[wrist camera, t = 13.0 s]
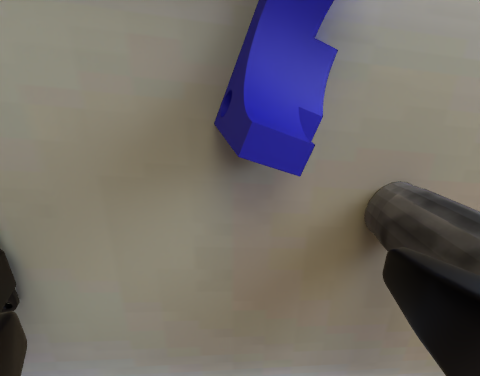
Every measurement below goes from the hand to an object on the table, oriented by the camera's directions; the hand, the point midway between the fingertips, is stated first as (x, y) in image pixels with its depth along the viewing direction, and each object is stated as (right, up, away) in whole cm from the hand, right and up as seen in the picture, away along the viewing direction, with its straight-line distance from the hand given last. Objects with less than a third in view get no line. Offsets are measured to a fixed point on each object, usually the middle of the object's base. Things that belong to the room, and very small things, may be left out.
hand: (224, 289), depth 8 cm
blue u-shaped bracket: (+3, +11, +10) cm, 15 cm away
